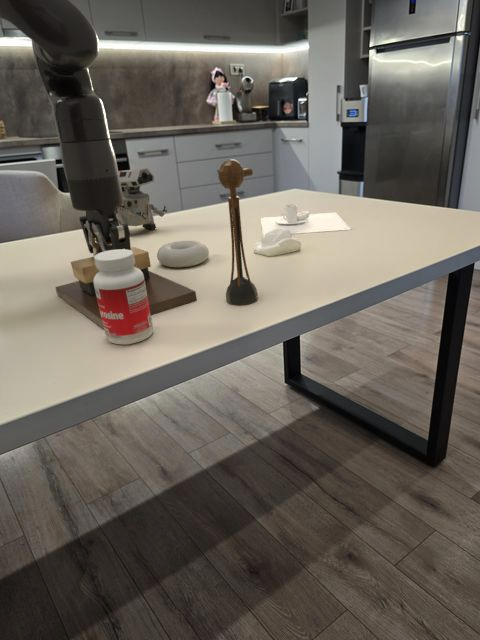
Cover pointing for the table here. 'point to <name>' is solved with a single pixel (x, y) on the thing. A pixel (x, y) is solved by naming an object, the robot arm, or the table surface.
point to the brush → (88, 270)
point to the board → (158, 293)
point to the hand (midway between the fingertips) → (115, 283)
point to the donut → (182, 254)
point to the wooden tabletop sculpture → (237, 234)
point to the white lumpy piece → (277, 243)
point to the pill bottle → (122, 297)
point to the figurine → (136, 199)
